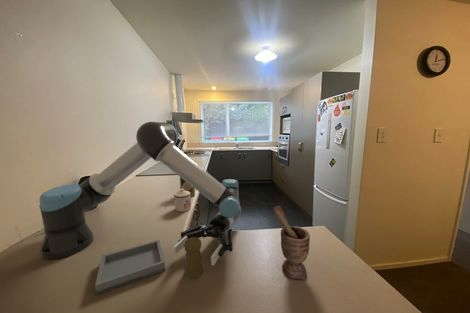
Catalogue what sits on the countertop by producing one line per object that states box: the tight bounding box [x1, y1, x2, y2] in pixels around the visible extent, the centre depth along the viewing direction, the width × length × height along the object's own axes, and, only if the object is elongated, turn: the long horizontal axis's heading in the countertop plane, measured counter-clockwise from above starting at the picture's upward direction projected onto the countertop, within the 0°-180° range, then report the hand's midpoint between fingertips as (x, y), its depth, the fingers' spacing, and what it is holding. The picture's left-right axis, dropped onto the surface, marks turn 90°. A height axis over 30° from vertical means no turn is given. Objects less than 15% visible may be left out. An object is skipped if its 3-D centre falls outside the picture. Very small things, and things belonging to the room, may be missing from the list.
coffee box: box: [179, 176, 196, 198], centre depth 125 cm, size 9×6×16 cm
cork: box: [183, 237, 205, 280], centre depth 58 cm, size 6×6×11 cm
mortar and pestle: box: [273, 205, 311, 280], centre depth 58 cm, size 12×9×20 cm
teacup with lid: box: [173, 189, 192, 213], centre depth 106 cm, size 12×9×12 cm
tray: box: [94, 239, 166, 296], centre depth 61 cm, size 18×14×3 cm
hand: (192, 255), depth 57 cm, fingers open, 13 cm apart
